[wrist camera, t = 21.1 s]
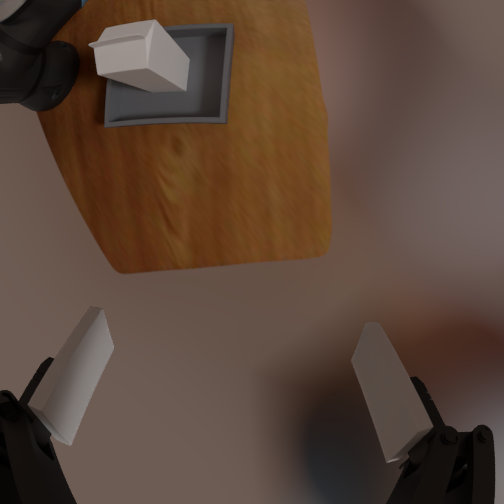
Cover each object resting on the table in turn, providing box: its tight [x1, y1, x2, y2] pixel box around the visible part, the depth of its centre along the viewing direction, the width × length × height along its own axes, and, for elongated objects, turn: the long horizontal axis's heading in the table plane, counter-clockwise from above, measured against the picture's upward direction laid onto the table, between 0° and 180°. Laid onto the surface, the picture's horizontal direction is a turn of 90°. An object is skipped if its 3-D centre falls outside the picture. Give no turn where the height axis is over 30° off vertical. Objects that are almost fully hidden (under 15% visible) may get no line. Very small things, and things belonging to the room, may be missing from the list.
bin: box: [104, 24, 234, 128], centre depth 36 cm, size 20×17×5 cm
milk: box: [88, 20, 190, 93], centre depth 27 cm, size 6×6×22 cm
